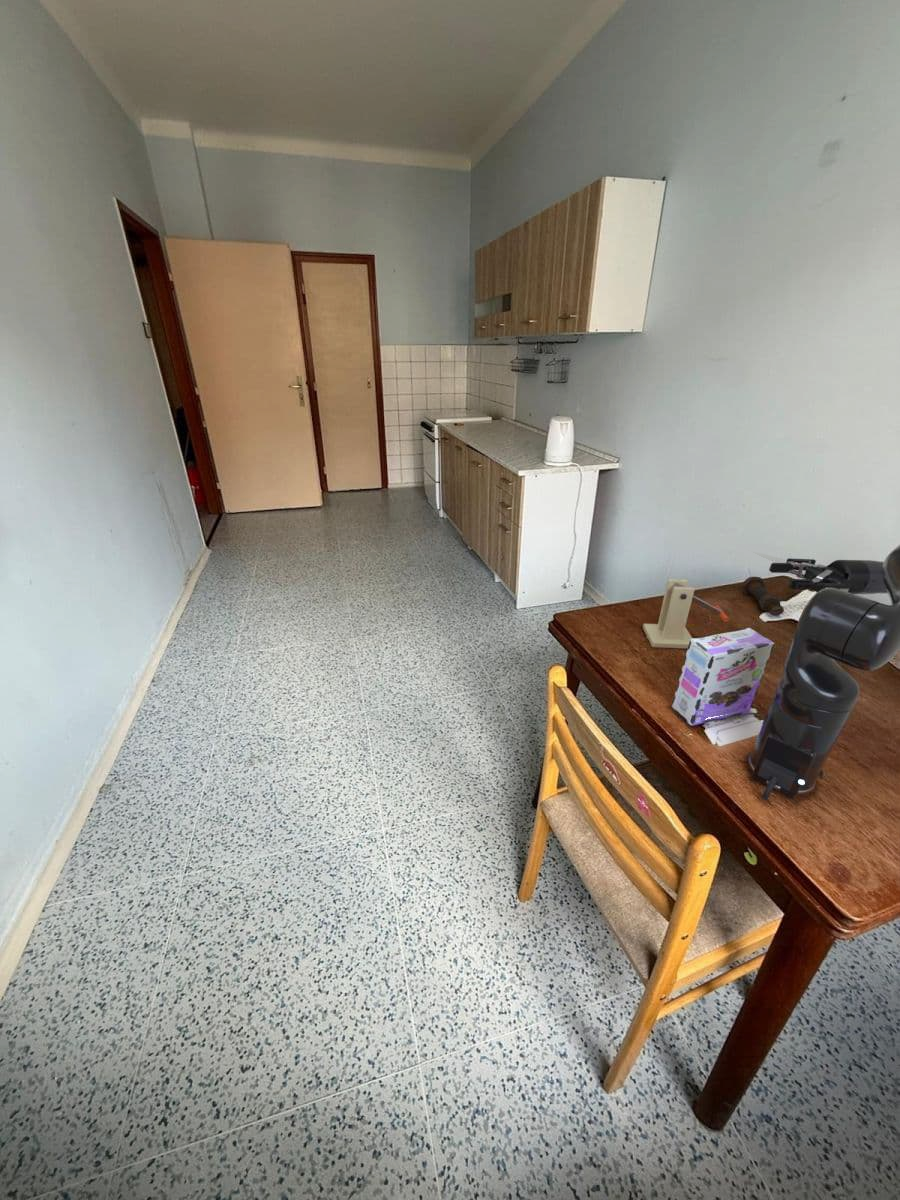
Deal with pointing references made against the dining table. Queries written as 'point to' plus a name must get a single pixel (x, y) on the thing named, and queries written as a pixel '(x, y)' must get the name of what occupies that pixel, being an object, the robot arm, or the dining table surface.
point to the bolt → (762, 595)
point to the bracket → (672, 617)
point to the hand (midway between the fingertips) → (780, 575)
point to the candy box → (721, 675)
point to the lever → (706, 605)
